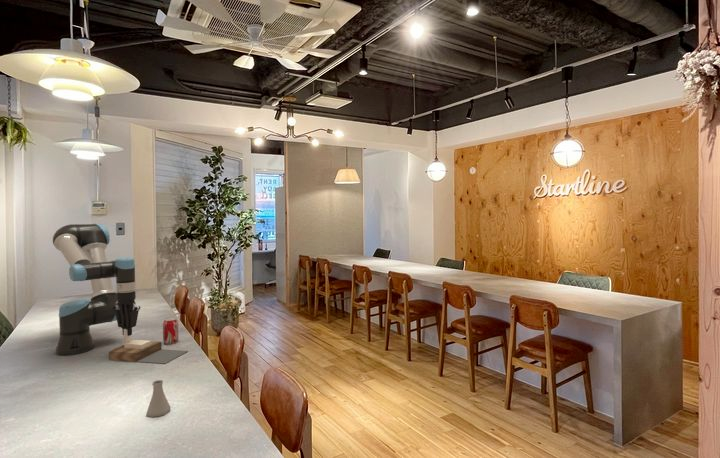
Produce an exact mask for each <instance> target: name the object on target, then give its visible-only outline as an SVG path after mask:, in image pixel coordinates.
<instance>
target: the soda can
mask: <svg viewBox="0 0 720 458" xmlns="http://www.w3.org/2000/svg"><path fill="white" fill-rule="evenodd" d="M162 339H163V340H162V341H163V343H164V344H165V345H172V344H173V345H174V344H176V343H177V342H179V321H178V319H177V317H167V318H164V320H163V322H162Z"/></svg>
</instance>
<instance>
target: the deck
mask: <svg viewBox="0 0 720 458" xmlns="http://www.w3.org/2000/svg"><path fill="white" fill-rule="evenodd" d="M150 341H151V345H150V346H148V347H146V348H143V349H131V348H124V344H122V345H121V346H119V347H116V348H113V349H111V350H108V360H109V361H116V362H130V363H138V362H137V361H138V360H140V359H142V358H145V357H147V356H149V355H151V354H153V353H155V352H157V351H159V350H161V349H162V341H155V340H150Z"/></svg>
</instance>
